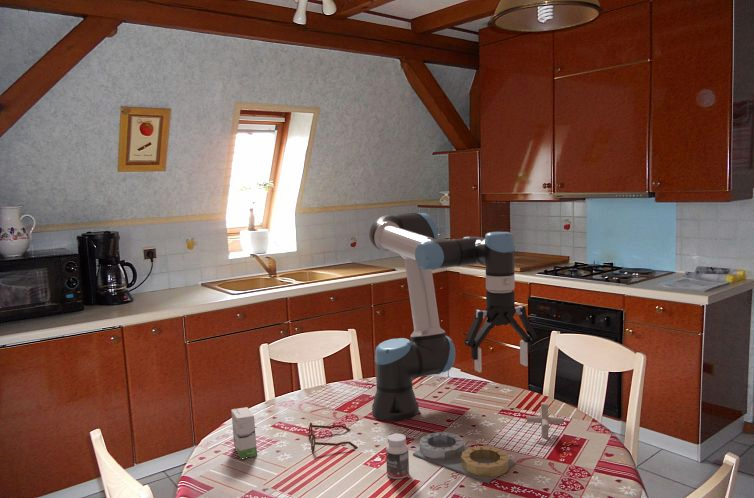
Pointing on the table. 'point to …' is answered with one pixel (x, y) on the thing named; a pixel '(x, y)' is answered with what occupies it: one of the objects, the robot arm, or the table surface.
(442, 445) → the slate board
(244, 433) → the ink box
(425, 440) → the grey socket
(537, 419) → the pipe connector
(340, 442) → the glasses
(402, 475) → the pill bottle
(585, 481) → the table surface
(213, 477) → the table surface
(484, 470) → the brass socket
